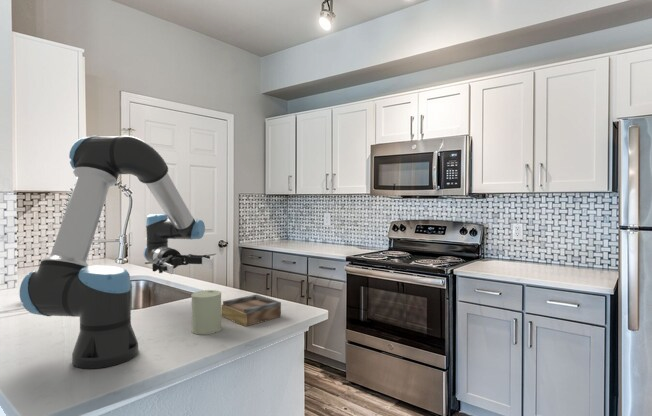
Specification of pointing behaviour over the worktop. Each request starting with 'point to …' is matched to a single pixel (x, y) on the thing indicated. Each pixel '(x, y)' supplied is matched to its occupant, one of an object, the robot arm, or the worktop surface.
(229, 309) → the brown wooden tray
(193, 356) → the worktop surface
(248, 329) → the worktop surface
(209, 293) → the can
